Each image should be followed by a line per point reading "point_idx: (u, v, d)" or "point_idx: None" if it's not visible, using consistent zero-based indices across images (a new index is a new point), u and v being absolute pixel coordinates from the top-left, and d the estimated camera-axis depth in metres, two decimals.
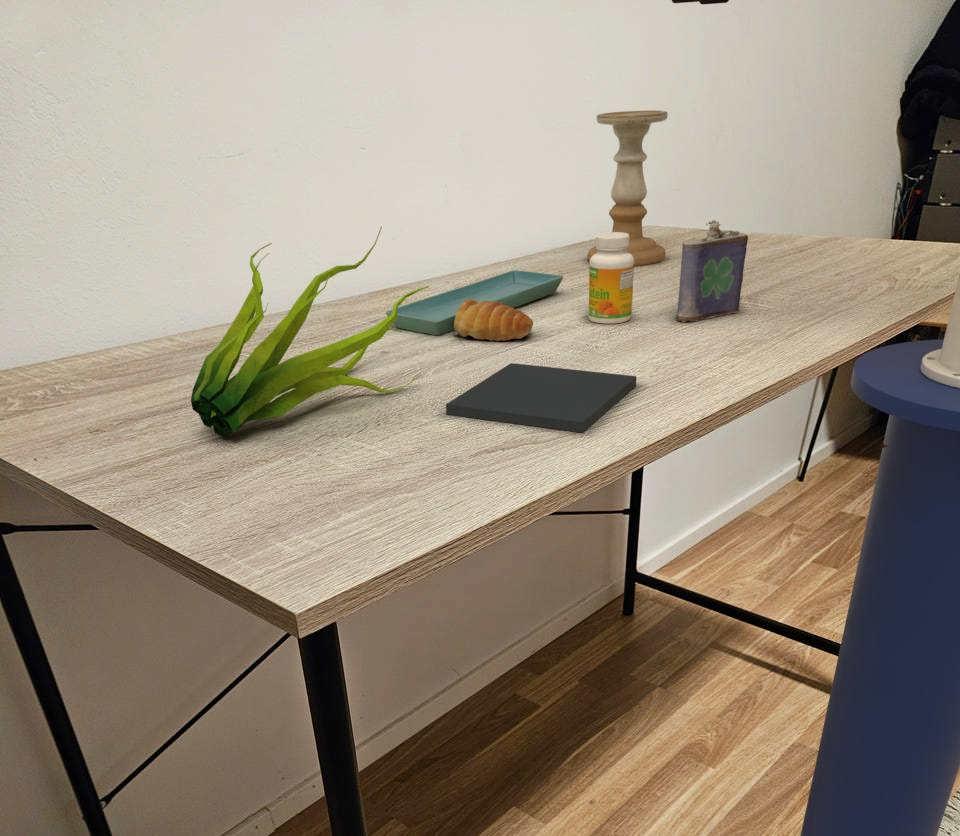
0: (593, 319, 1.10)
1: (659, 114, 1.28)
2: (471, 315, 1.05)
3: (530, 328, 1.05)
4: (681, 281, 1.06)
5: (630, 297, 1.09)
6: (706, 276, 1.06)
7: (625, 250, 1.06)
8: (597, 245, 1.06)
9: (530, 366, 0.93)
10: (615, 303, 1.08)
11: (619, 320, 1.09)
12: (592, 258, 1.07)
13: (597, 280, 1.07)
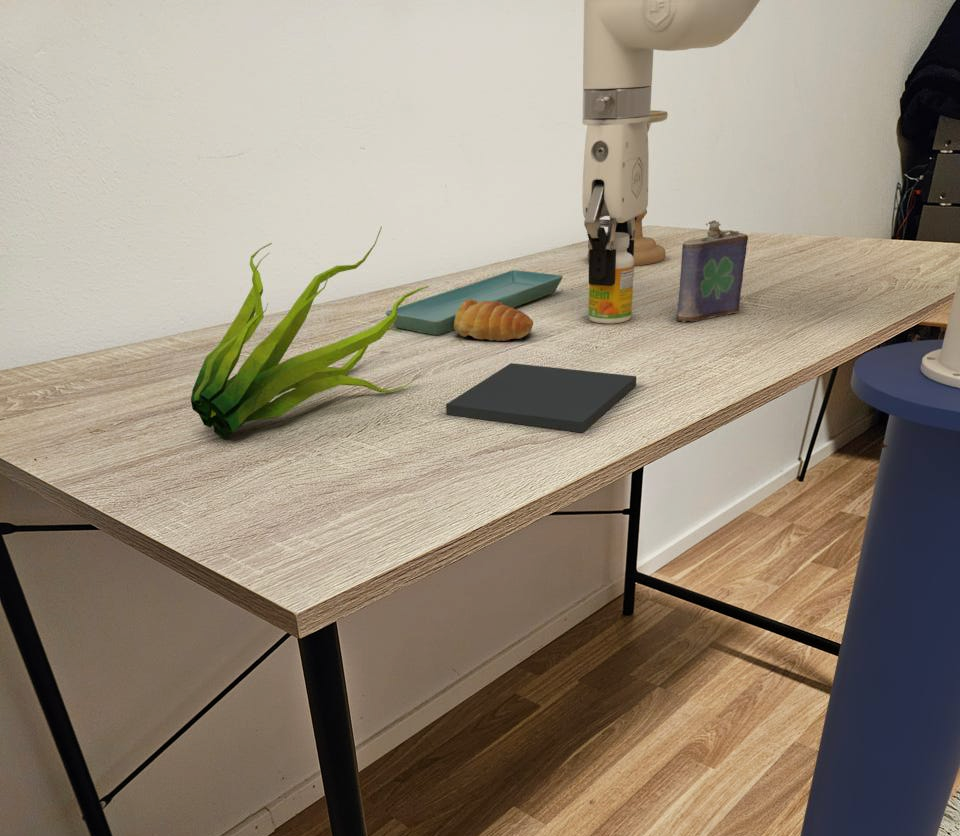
0: (593, 319, 1.10)
1: (659, 114, 1.28)
2: (471, 315, 1.05)
3: (530, 328, 1.05)
4: (681, 281, 1.06)
5: (630, 297, 1.09)
6: (706, 276, 1.06)
7: (625, 250, 1.06)
8: None
9: (530, 366, 0.93)
10: (615, 303, 1.08)
11: (619, 320, 1.09)
12: None
13: None
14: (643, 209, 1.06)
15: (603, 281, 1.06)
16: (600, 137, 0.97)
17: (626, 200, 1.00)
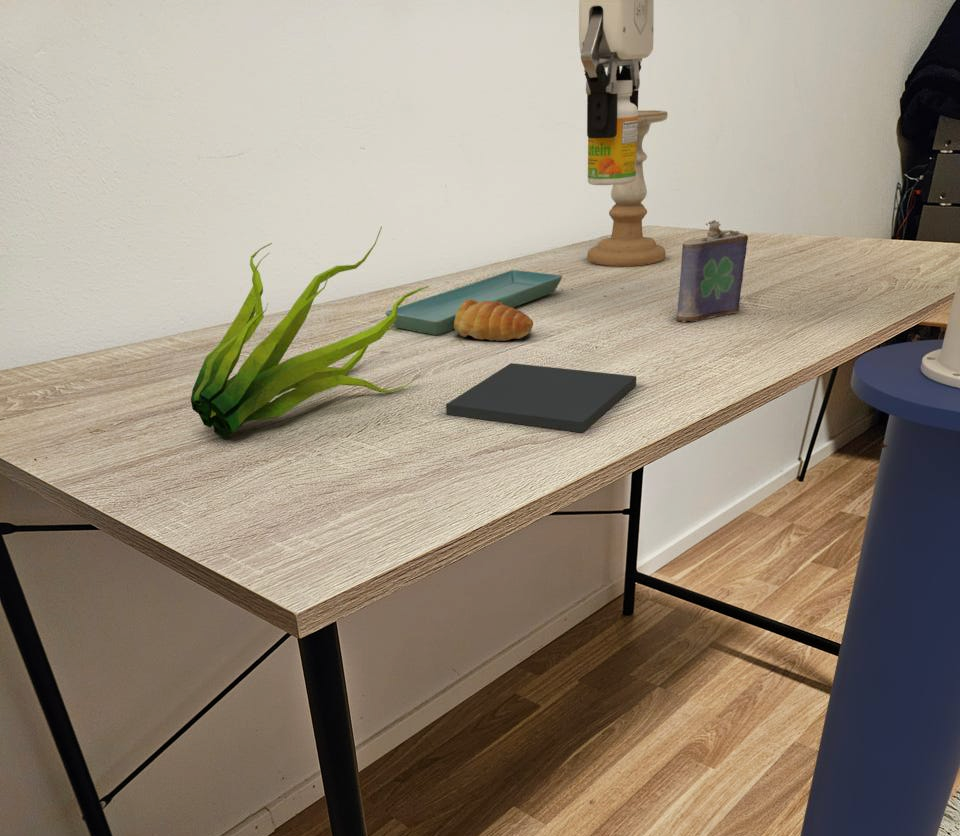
0: (593, 181, 0.99)
1: (659, 114, 1.28)
2: (471, 315, 1.05)
3: (530, 328, 1.05)
4: (681, 281, 1.06)
5: (633, 154, 0.97)
6: (706, 276, 1.06)
7: (628, 98, 0.95)
8: None
9: (530, 366, 0.93)
10: (617, 160, 0.97)
11: (622, 181, 0.98)
12: None
13: None
14: (648, 51, 0.94)
15: (603, 133, 0.95)
16: None
17: (628, 32, 0.89)
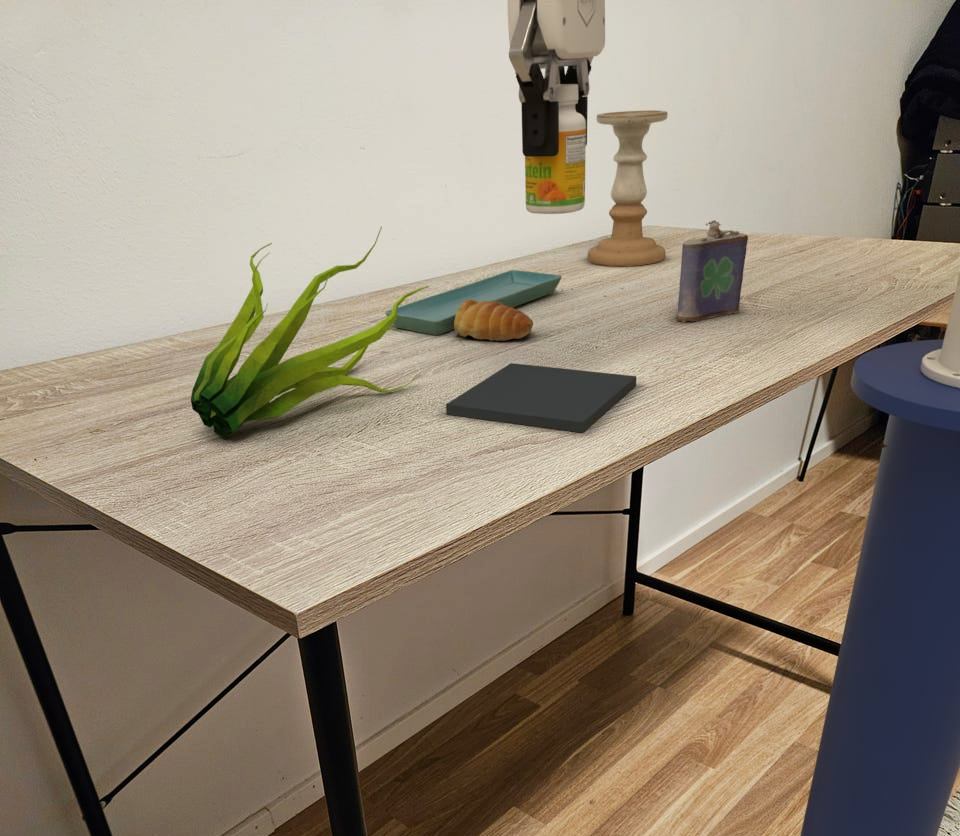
0: (531, 209, 0.80)
1: (659, 114, 1.28)
2: (471, 315, 1.05)
3: (530, 328, 1.05)
4: (681, 281, 1.06)
5: (581, 176, 0.78)
6: (706, 276, 1.06)
7: (573, 107, 0.76)
8: None
9: (530, 366, 0.93)
10: (560, 183, 0.78)
11: (566, 209, 0.79)
12: None
13: None
14: (598, 48, 0.75)
15: (542, 150, 0.76)
16: None
17: (569, 23, 0.70)
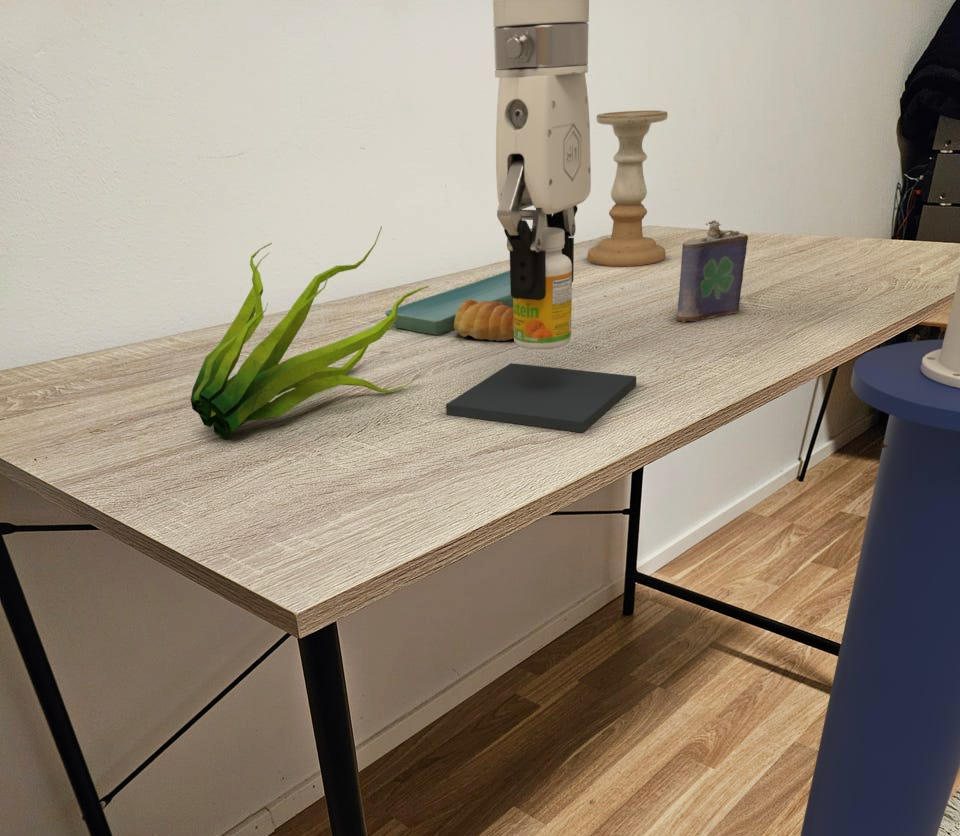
0: (519, 343, 0.83)
1: (659, 114, 1.28)
2: (471, 315, 1.05)
3: None
4: (681, 281, 1.06)
5: (567, 314, 0.81)
6: (706, 276, 1.06)
7: (559, 251, 0.79)
8: None
9: (530, 366, 0.93)
10: (547, 322, 0.80)
11: (553, 345, 0.82)
12: None
13: None
14: (583, 196, 0.78)
15: (530, 293, 0.79)
16: (516, 94, 0.69)
17: (555, 183, 0.73)
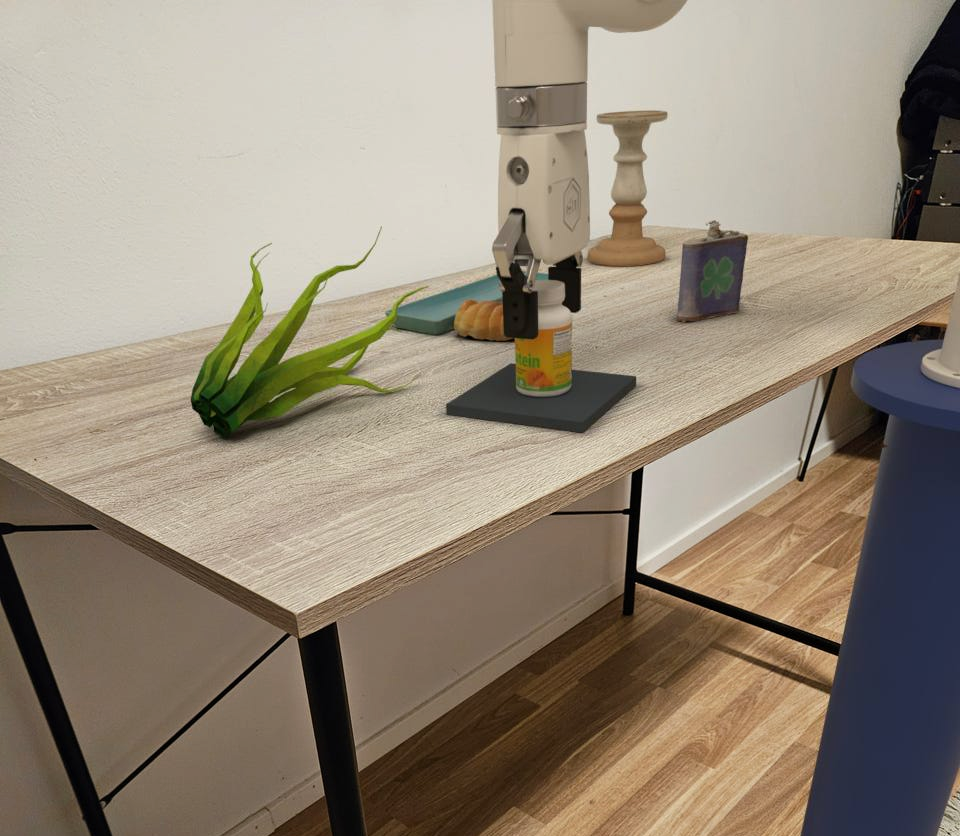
0: (521, 391, 0.85)
1: (659, 114, 1.28)
2: (471, 315, 1.05)
3: None
4: (681, 281, 1.06)
5: (567, 363, 0.84)
6: (706, 276, 1.06)
7: (559, 304, 0.81)
8: None
9: None
10: (548, 372, 0.83)
11: (554, 393, 0.84)
12: None
13: (524, 343, 0.82)
14: (583, 245, 0.80)
15: (522, 333, 0.79)
16: (517, 152, 0.72)
17: (556, 236, 0.75)
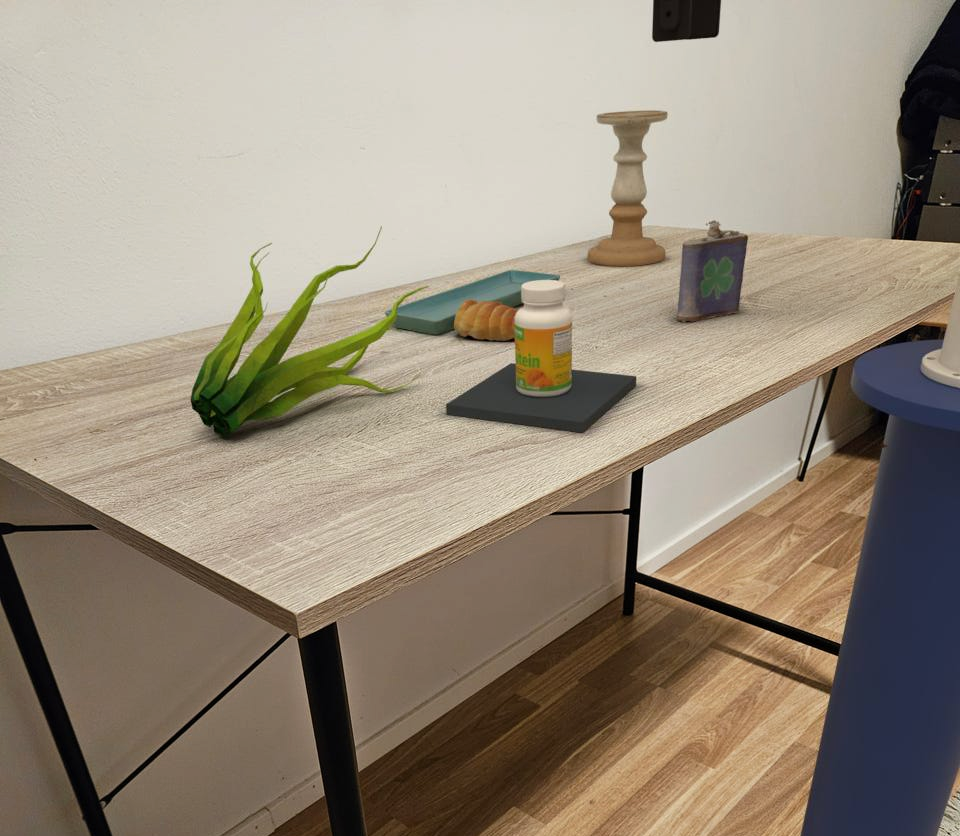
0: (521, 391, 0.85)
1: (659, 114, 1.28)
2: (471, 315, 1.05)
3: None
4: (681, 281, 1.06)
5: (567, 363, 0.84)
6: (706, 276, 1.06)
7: (559, 304, 0.81)
8: (523, 298, 0.81)
9: None
10: (548, 372, 0.83)
11: (554, 393, 0.84)
12: (517, 314, 0.82)
13: (524, 343, 0.82)
14: None
15: (674, 34, 0.76)
16: None
17: None
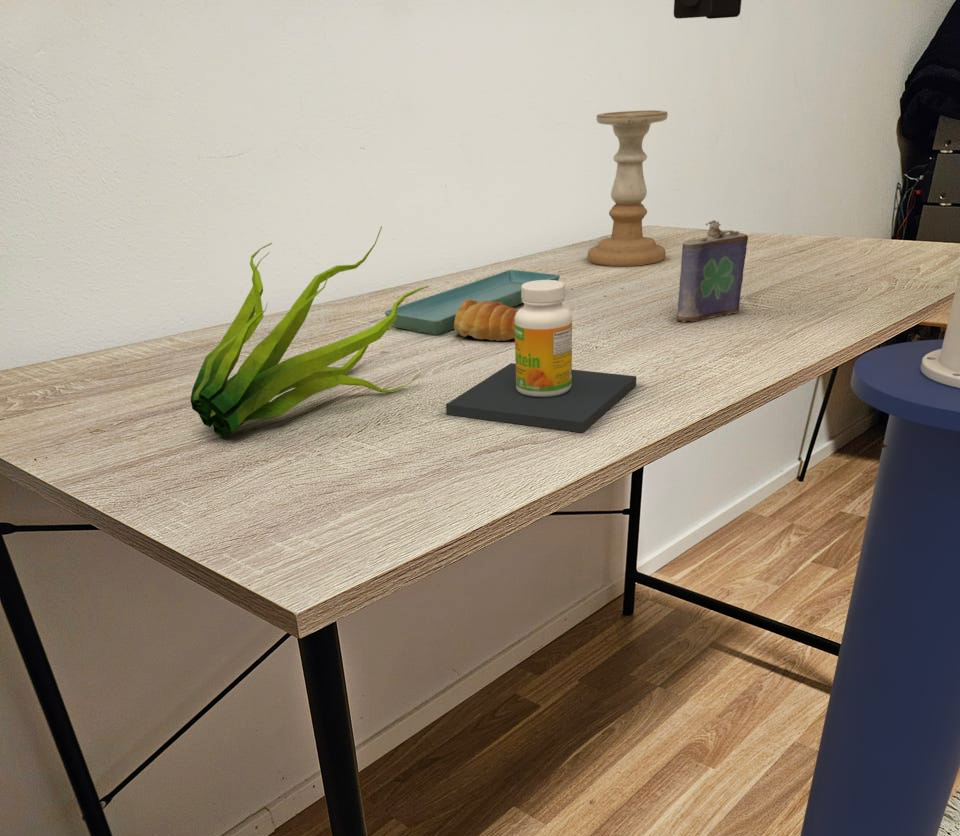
0: (521, 391, 0.85)
1: (659, 114, 1.28)
2: (471, 315, 1.05)
3: None
4: (681, 281, 1.06)
5: (567, 364, 0.84)
6: (706, 276, 1.06)
7: (559, 304, 0.81)
8: (523, 298, 0.81)
9: None
10: (548, 372, 0.83)
11: (554, 393, 0.84)
12: (517, 314, 0.82)
13: (524, 343, 0.82)
14: None
15: (695, 10, 0.77)
16: None
17: None
